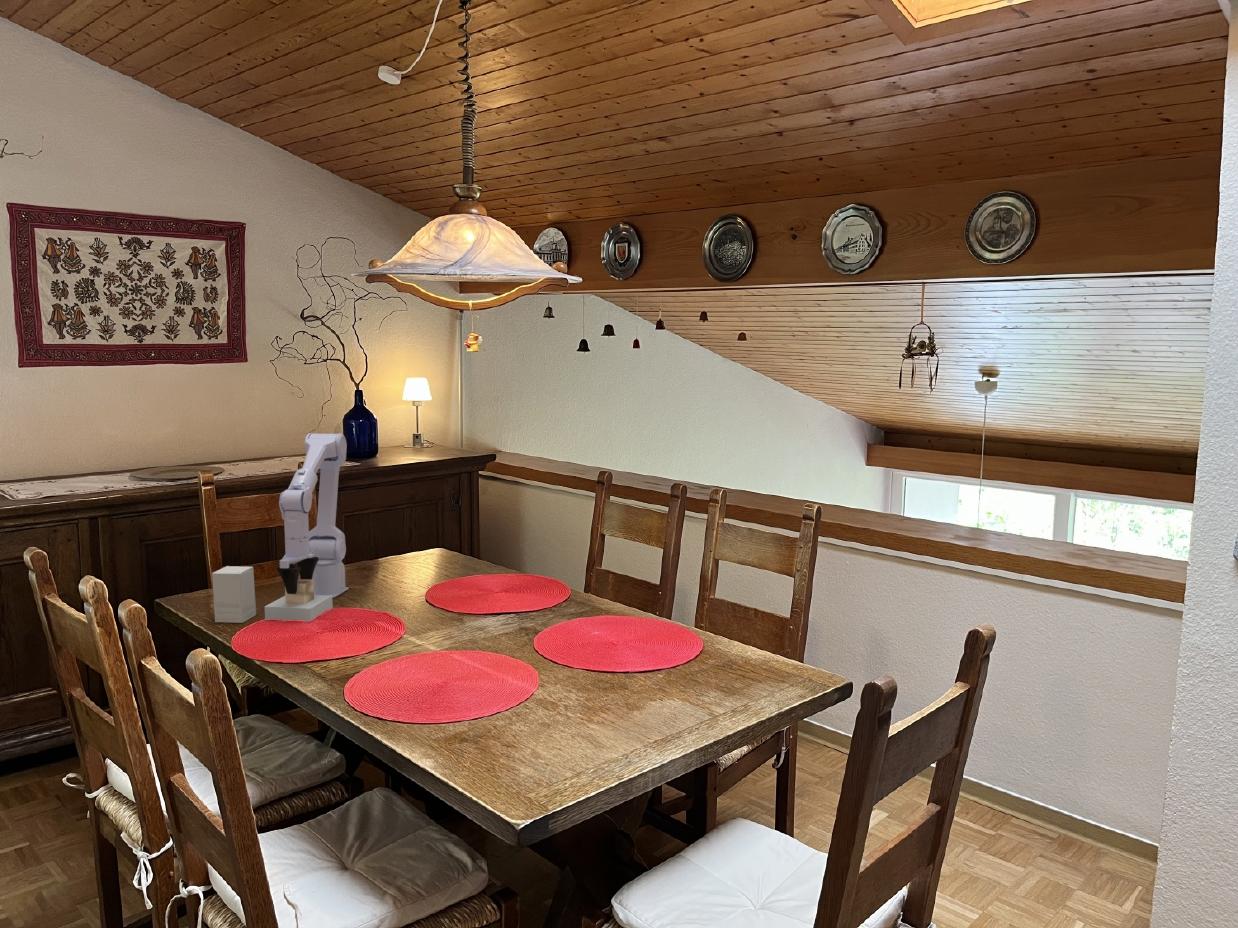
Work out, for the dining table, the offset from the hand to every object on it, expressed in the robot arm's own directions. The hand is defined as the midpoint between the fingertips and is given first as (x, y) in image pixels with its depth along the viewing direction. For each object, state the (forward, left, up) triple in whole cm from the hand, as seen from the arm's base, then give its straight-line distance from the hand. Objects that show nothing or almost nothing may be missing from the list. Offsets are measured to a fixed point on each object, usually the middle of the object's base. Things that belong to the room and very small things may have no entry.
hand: (299, 589), depth 231 cm
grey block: (0, 0, -7) cm, 7 cm away
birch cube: (0, 0, -3) cm, 3 cm away
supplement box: (+6, -14, -7) cm, 17 cm away
